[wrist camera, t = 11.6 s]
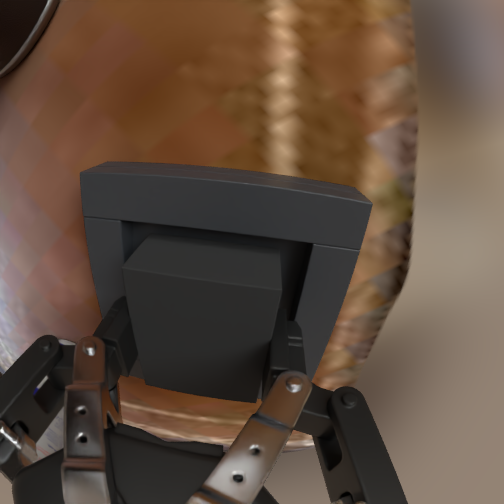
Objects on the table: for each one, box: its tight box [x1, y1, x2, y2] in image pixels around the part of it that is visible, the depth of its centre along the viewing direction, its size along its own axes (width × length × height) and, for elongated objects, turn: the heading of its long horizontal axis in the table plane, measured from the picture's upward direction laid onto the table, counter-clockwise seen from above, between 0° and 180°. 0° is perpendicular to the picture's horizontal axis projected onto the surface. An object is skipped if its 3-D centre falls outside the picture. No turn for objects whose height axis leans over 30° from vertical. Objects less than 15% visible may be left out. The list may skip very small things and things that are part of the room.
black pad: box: [122, 233, 282, 403], centre depth 12 cm, size 7×6×3 cm
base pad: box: [80, 162, 373, 399], centre depth 14 cm, size 13×12×2 cm
